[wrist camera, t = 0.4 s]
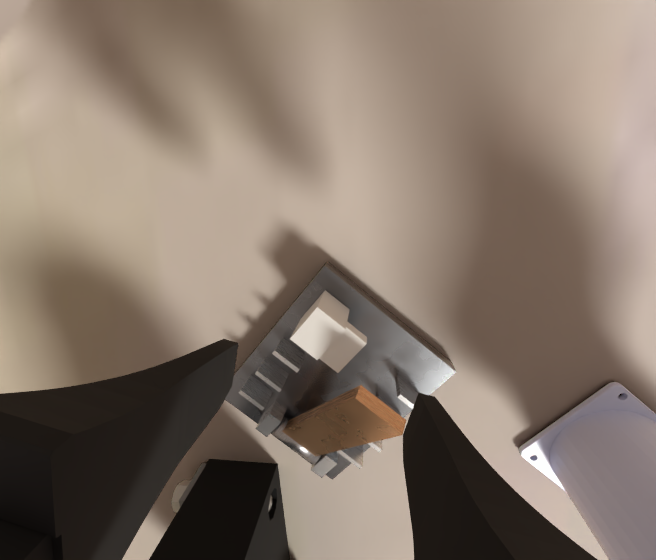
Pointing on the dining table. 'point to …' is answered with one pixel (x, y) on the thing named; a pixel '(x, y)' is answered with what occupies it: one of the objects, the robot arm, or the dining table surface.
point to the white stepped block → (328, 333)
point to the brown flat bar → (340, 424)
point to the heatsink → (323, 382)
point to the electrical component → (227, 515)
